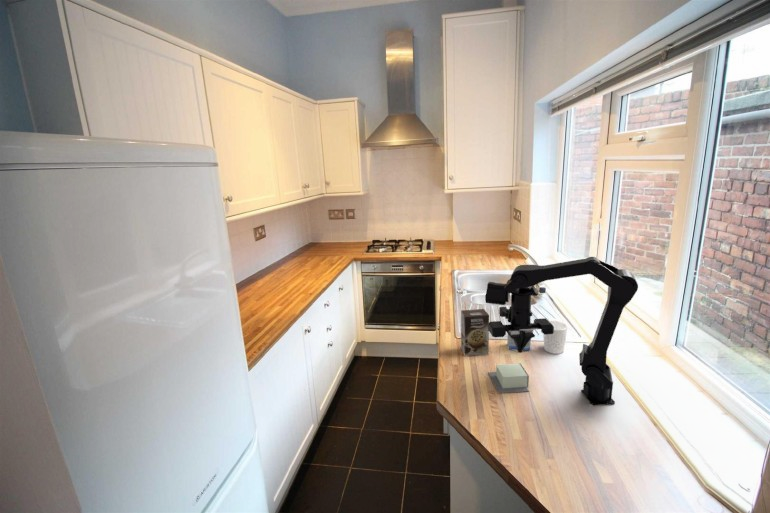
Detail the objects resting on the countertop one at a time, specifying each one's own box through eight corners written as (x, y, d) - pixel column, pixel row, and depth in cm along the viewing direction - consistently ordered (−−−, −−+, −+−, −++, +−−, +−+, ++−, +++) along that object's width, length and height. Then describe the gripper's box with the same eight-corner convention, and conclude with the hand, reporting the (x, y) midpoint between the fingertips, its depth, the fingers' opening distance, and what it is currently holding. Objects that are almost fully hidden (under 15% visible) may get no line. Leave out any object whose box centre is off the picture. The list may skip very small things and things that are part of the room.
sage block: (520, 363, 116) (496, 364, 116) (528, 375, 109) (503, 377, 109) (520, 373, 117) (496, 375, 117) (528, 386, 110) (502, 388, 110)
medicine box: (508, 349, 133) (508, 329, 131) (507, 344, 137) (507, 323, 135) (530, 351, 131) (531, 330, 129) (528, 345, 135) (529, 324, 133)
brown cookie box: (465, 356, 130) (464, 316, 126) (460, 348, 136) (460, 309, 132) (489, 354, 130) (489, 314, 126) (484, 346, 137) (484, 307, 132)
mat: (516, 371, 119) (516, 370, 119) (528, 391, 108) (528, 390, 108) (488, 373, 119) (488, 372, 119) (498, 393, 109) (498, 392, 109)
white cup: (543, 342, 136) (544, 319, 133) (566, 346, 132) (568, 322, 129) (540, 352, 130) (542, 327, 127) (564, 357, 126) (566, 331, 123)
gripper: (540, 295, 115) (538, 338, 119) (483, 298, 115) (483, 341, 119) (556, 308, 104) (553, 355, 108) (493, 312, 104) (492, 358, 108)
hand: (519, 352), depth 111 cm, fingers closed
